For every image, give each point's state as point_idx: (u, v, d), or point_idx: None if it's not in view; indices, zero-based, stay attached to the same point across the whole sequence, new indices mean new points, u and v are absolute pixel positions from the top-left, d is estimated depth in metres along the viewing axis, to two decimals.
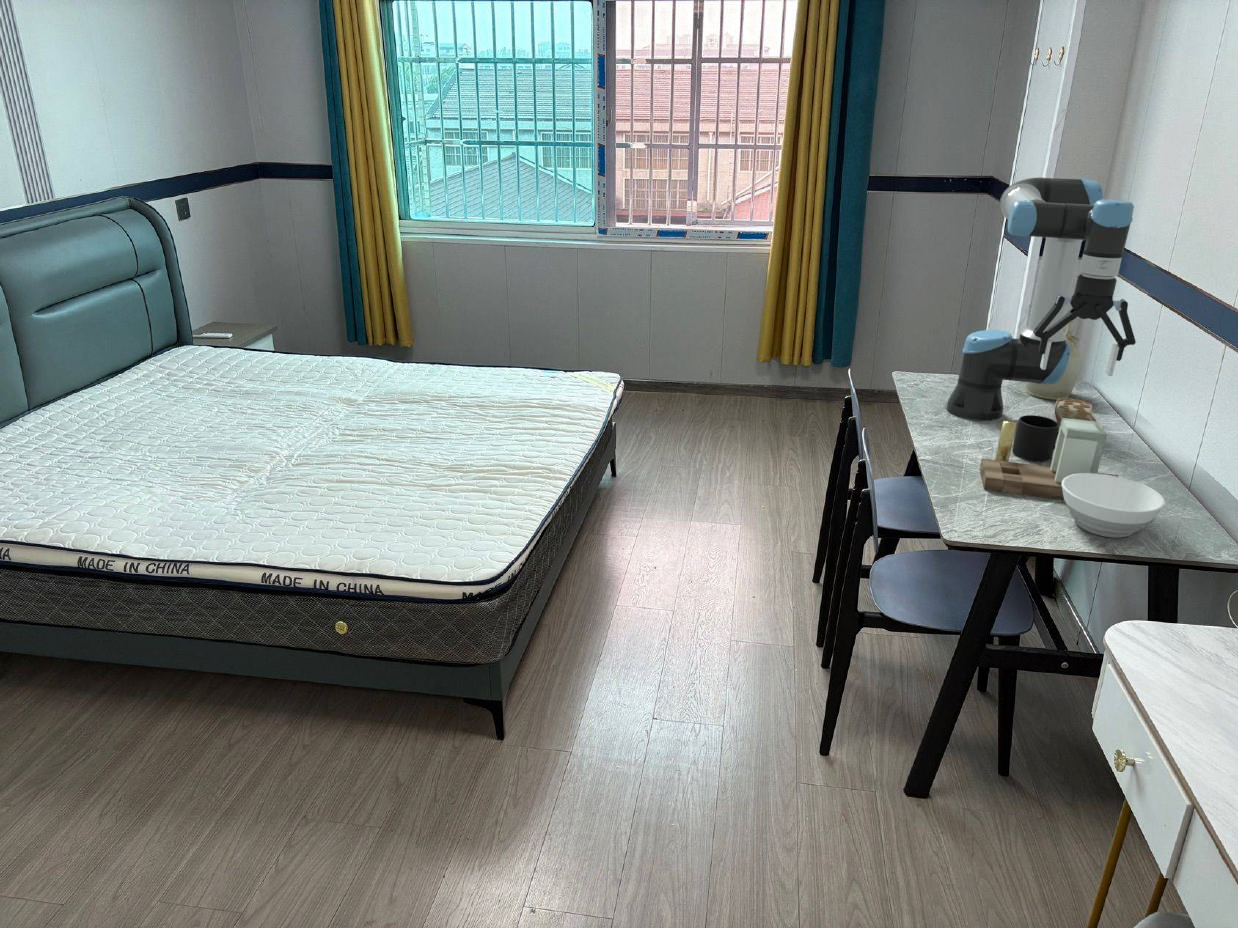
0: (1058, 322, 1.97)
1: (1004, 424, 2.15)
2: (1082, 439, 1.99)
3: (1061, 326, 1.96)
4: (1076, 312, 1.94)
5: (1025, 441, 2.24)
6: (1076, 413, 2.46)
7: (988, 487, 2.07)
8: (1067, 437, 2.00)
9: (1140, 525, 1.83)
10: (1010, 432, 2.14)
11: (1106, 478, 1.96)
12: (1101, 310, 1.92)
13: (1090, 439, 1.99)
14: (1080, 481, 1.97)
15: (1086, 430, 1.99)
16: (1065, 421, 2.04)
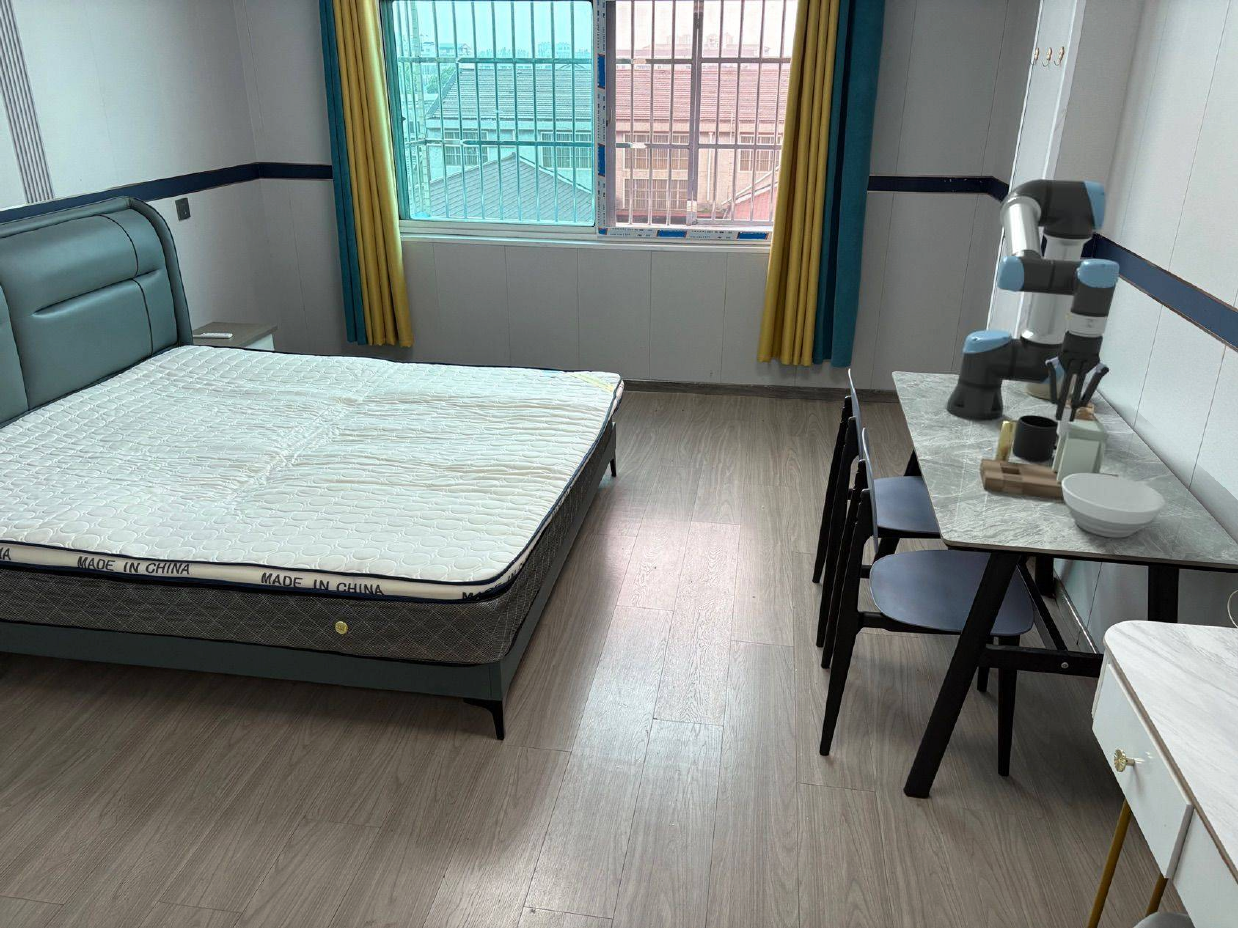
0: (1062, 386, 2.00)
1: (1004, 424, 2.15)
2: (1084, 440, 1.99)
3: (1067, 389, 1.99)
4: (1069, 371, 1.97)
5: (1025, 441, 2.24)
6: (1078, 413, 2.46)
7: (988, 487, 2.07)
8: (1069, 437, 2.00)
9: (1140, 525, 1.83)
10: (1010, 432, 2.14)
11: (1106, 478, 1.96)
12: (1085, 367, 1.96)
13: (1092, 439, 1.99)
14: (1080, 481, 1.97)
15: (1088, 430, 1.99)
16: None
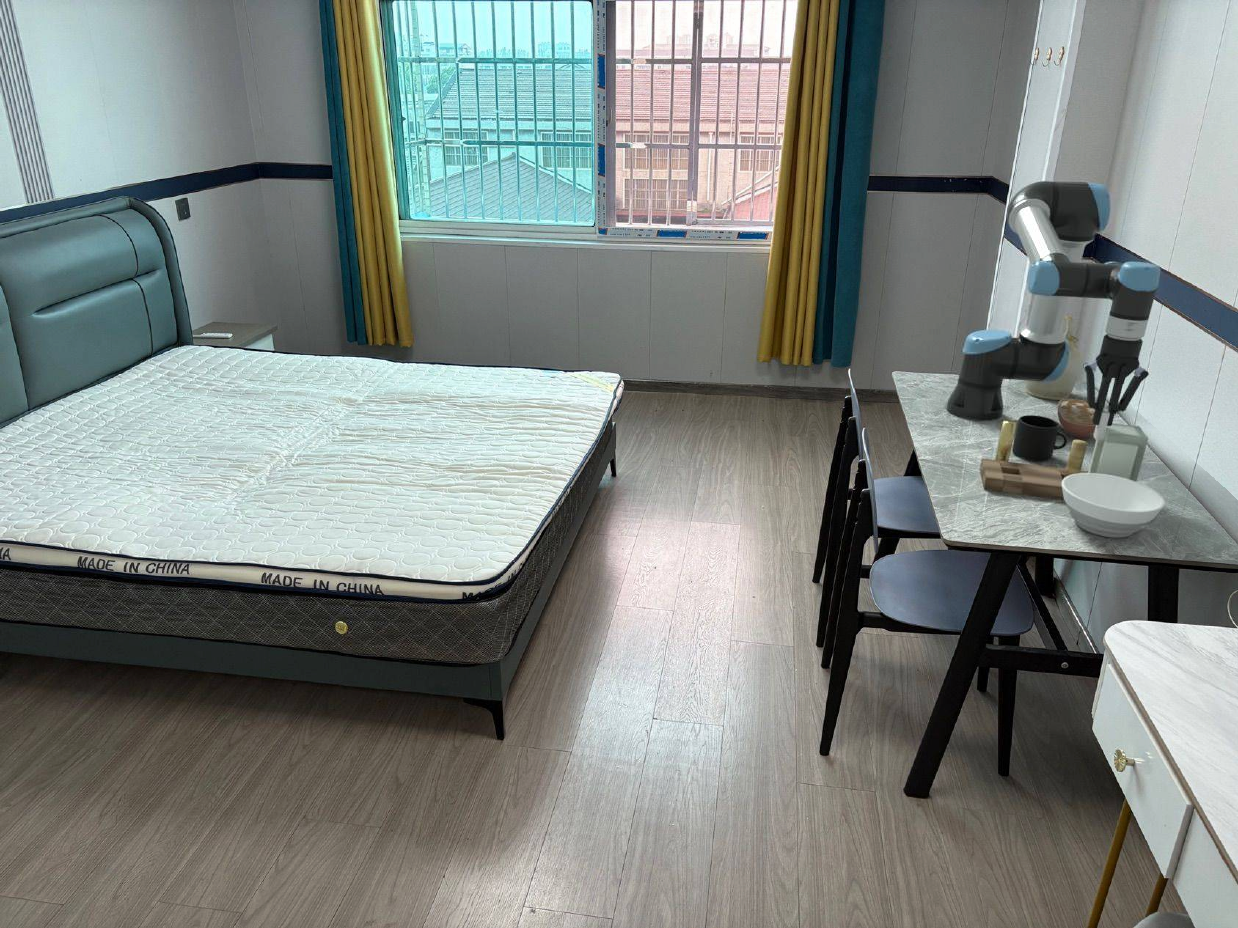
0: (1100, 390, 1.98)
1: (1004, 424, 2.15)
2: (1122, 444, 1.97)
3: (1105, 393, 1.97)
4: (1108, 375, 1.95)
5: (1025, 441, 2.24)
6: (1079, 413, 2.45)
7: (988, 487, 2.07)
8: (1107, 442, 1.98)
9: (1140, 525, 1.83)
10: (1010, 432, 2.14)
11: (1106, 478, 1.96)
12: (1124, 371, 1.94)
13: (1130, 444, 1.97)
14: (1080, 481, 1.97)
15: (1126, 434, 1.97)
16: None
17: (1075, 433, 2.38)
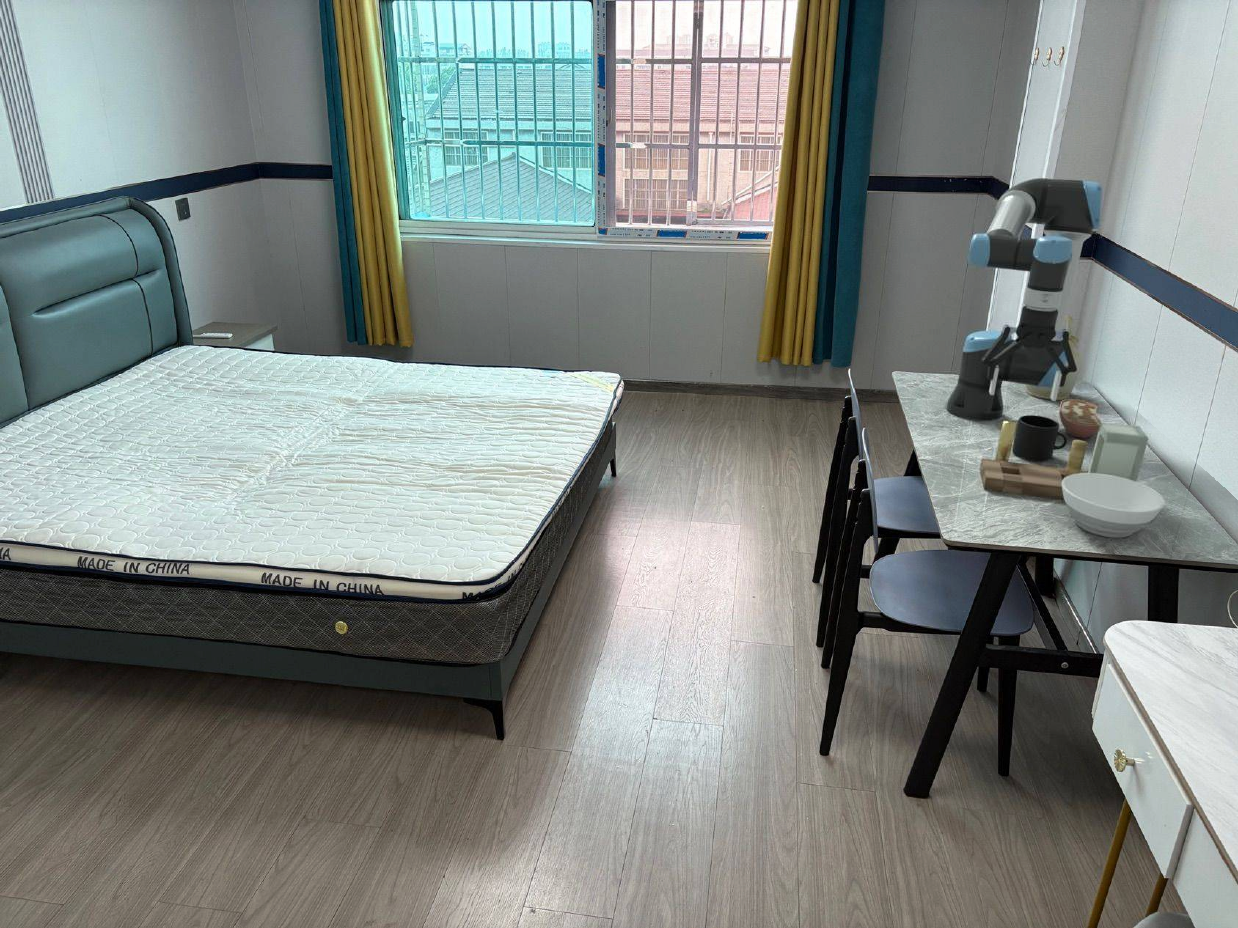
0: (1005, 350, 2.08)
1: (1004, 424, 2.15)
2: (1122, 444, 1.97)
3: (1007, 354, 2.07)
4: (1021, 341, 2.05)
5: (1025, 441, 2.24)
6: (1081, 414, 2.45)
7: (988, 487, 2.07)
8: (1107, 442, 1.98)
9: (1140, 525, 1.83)
10: (1010, 432, 2.14)
11: (1106, 478, 1.96)
12: (1044, 340, 2.03)
13: (1130, 444, 1.97)
14: (1080, 481, 1.97)
15: (1126, 434, 1.97)
16: (1104, 425, 2.02)
17: (1077, 433, 2.38)
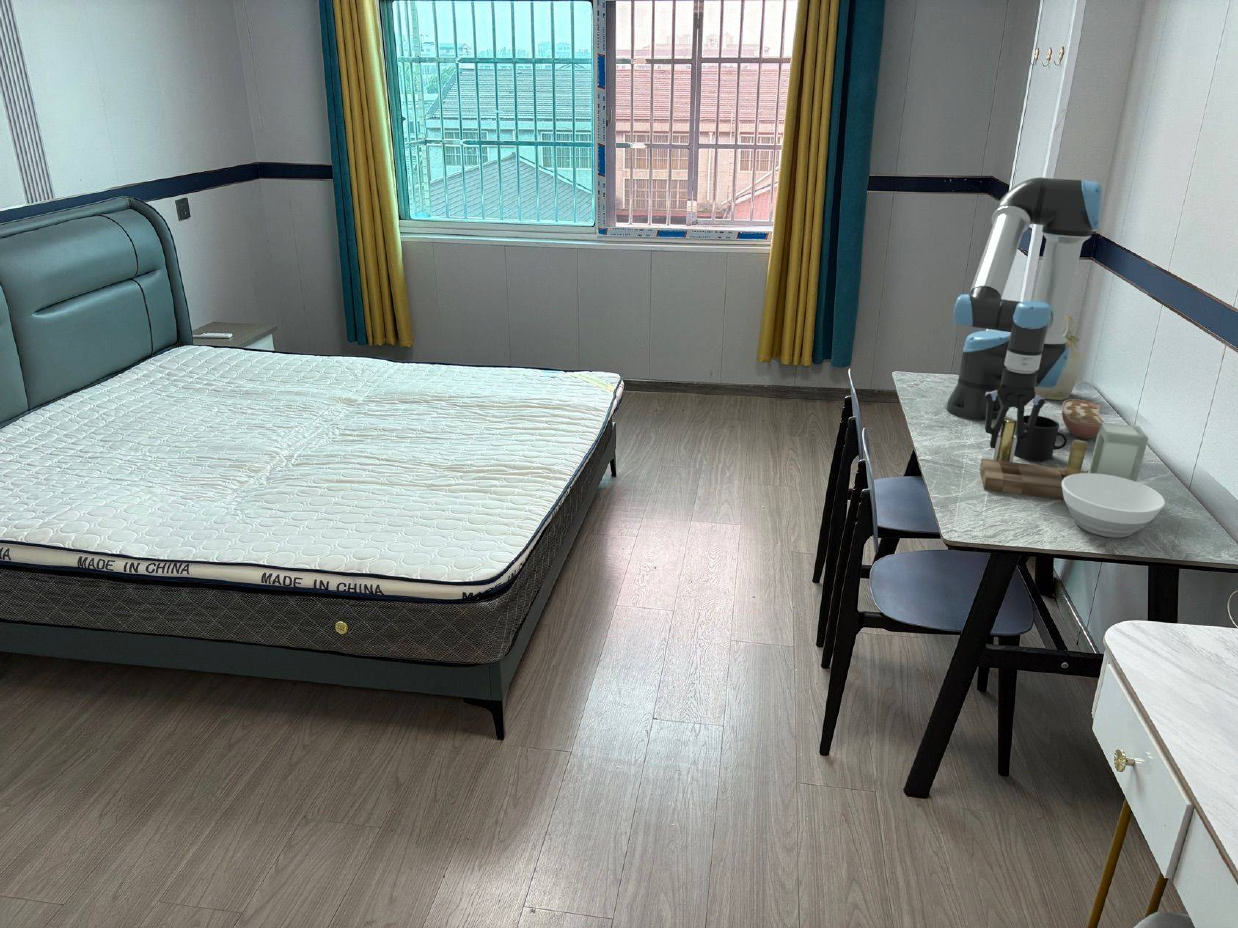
0: (998, 417, 2.15)
1: (1004, 423, 2.15)
2: (1122, 444, 1.97)
3: (1002, 420, 2.14)
4: (1006, 404, 2.12)
5: (1025, 441, 2.24)
6: (1083, 414, 2.45)
7: (988, 487, 2.07)
8: (1107, 442, 1.98)
9: (1140, 525, 1.83)
10: (1010, 431, 2.14)
11: (1106, 478, 1.96)
12: (1022, 401, 2.11)
13: (1130, 444, 1.97)
14: (1080, 481, 1.97)
15: (1126, 434, 1.97)
16: (1104, 425, 2.02)
17: (1080, 434, 2.38)
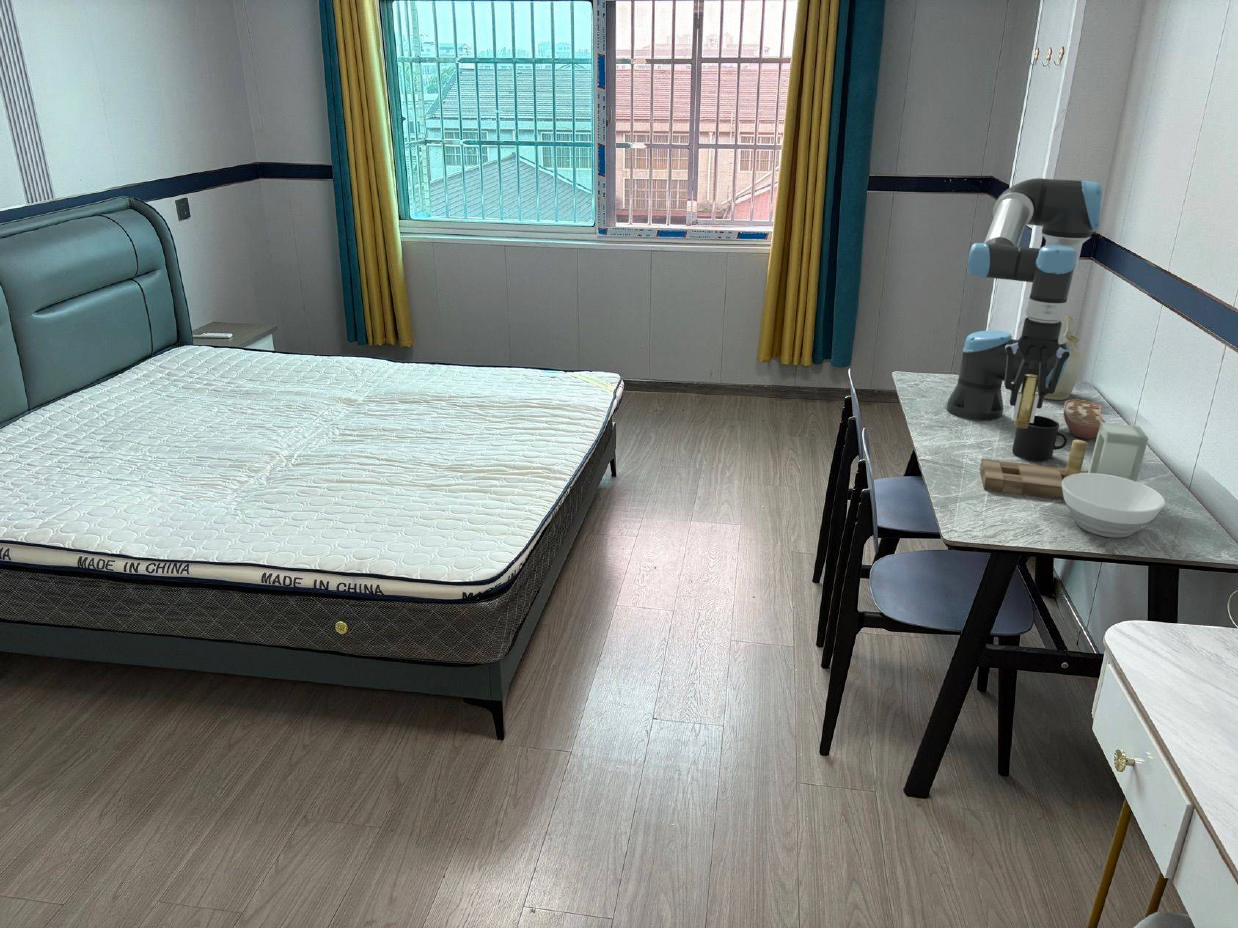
0: (1018, 372, 2.02)
1: (1025, 378, 2.01)
2: (1122, 444, 1.97)
3: (1023, 374, 2.00)
4: (1027, 357, 1.98)
5: (1025, 441, 2.24)
6: (1085, 414, 2.45)
7: (988, 487, 2.07)
8: (1107, 442, 1.98)
9: (1140, 525, 1.83)
10: (1031, 386, 2.01)
11: (1106, 478, 1.96)
12: (1045, 353, 1.97)
13: (1130, 444, 1.97)
14: (1080, 481, 1.97)
15: (1126, 434, 1.97)
16: (1104, 425, 2.02)
17: (1081, 434, 2.38)
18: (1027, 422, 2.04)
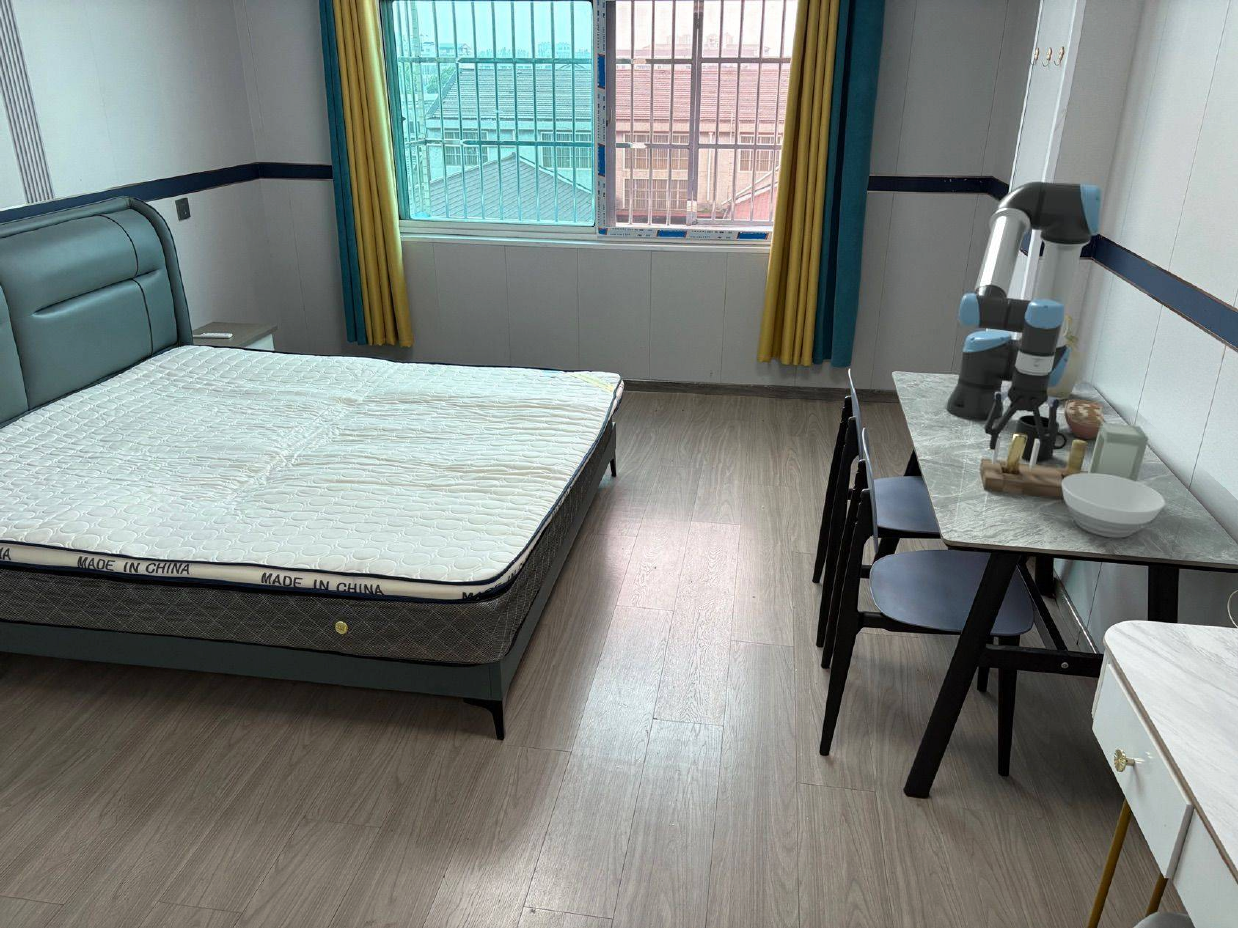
0: (1002, 418, 2.06)
1: (1015, 437, 2.06)
2: (1122, 444, 1.97)
3: (1006, 421, 2.05)
4: (1014, 406, 2.03)
5: None
6: (1086, 414, 2.45)
7: (988, 487, 2.07)
8: (1107, 442, 1.98)
9: (1140, 525, 1.83)
10: (1020, 445, 2.06)
11: (1106, 478, 1.96)
12: (1035, 404, 2.01)
13: (1130, 444, 1.97)
14: (1080, 481, 1.97)
15: (1126, 434, 1.97)
16: (1104, 425, 2.02)
17: (1082, 434, 2.38)
18: None
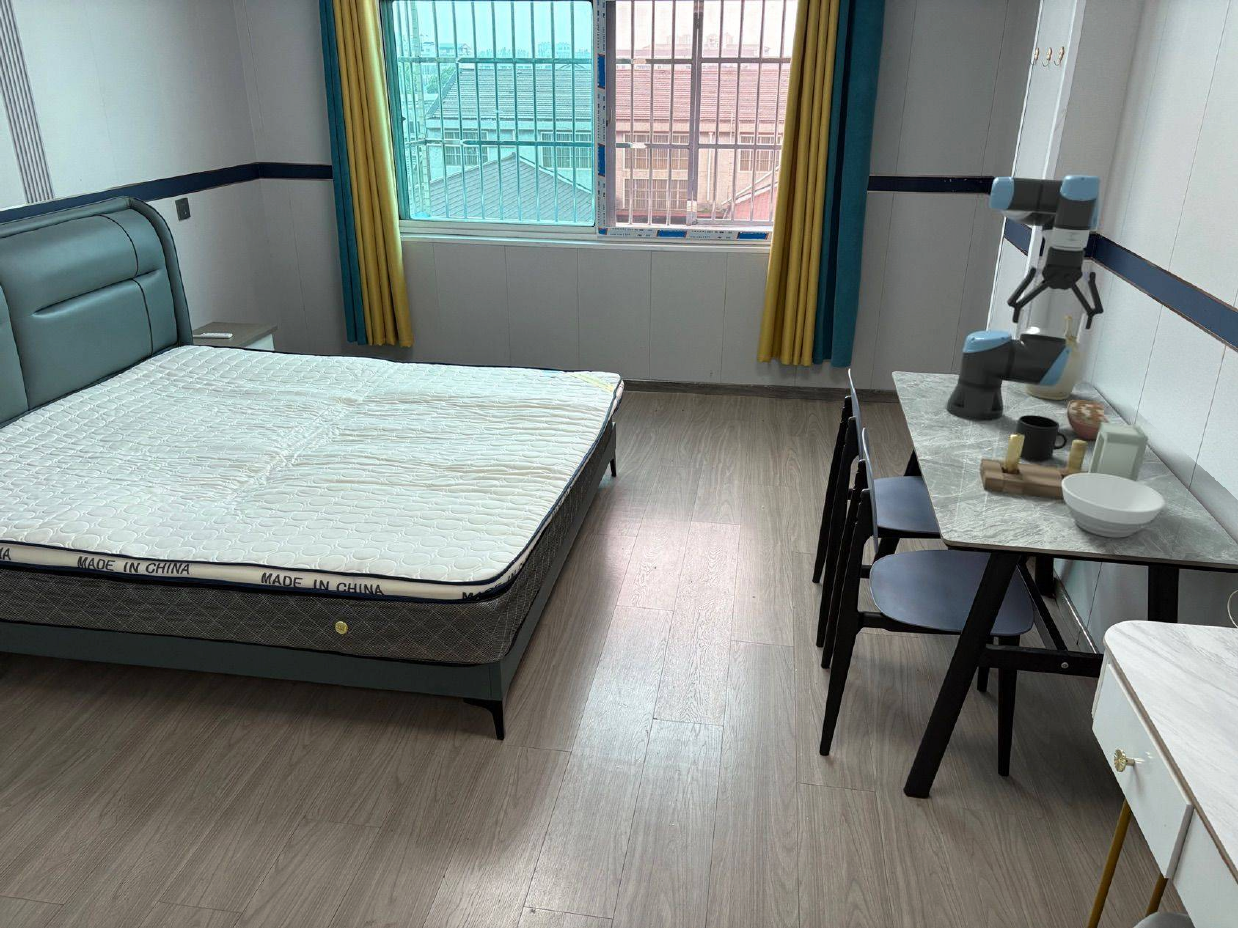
0: (1030, 292, 2.07)
1: (1012, 437, 2.07)
2: (1122, 444, 1.97)
3: (1033, 296, 2.06)
4: (1047, 282, 2.04)
5: (1025, 441, 2.24)
6: (1088, 415, 2.45)
7: (988, 487, 2.07)
8: (1107, 442, 1.98)
9: (1140, 525, 1.83)
10: (1018, 445, 2.06)
11: (1106, 478, 1.96)
12: (1070, 280, 2.02)
13: (1130, 444, 1.97)
14: (1080, 481, 1.97)
15: (1126, 434, 1.97)
16: (1104, 425, 2.02)
17: (1085, 434, 2.37)
18: None
